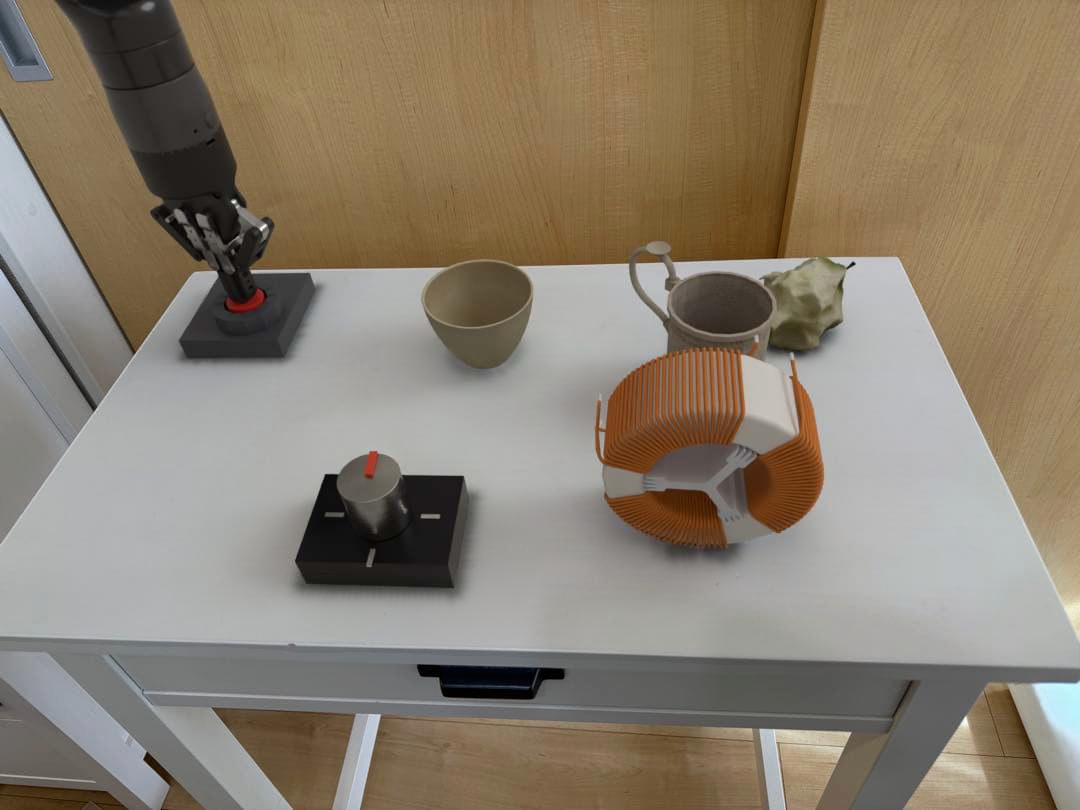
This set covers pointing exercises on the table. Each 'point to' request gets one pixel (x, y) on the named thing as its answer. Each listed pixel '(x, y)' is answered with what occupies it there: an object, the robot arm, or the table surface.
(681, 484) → the coil
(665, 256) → the mug
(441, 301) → the bowl
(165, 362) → the table surface
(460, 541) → the timer panel
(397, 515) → the timer knob
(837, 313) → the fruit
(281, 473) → the table surface
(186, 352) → the button block
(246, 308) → the button
